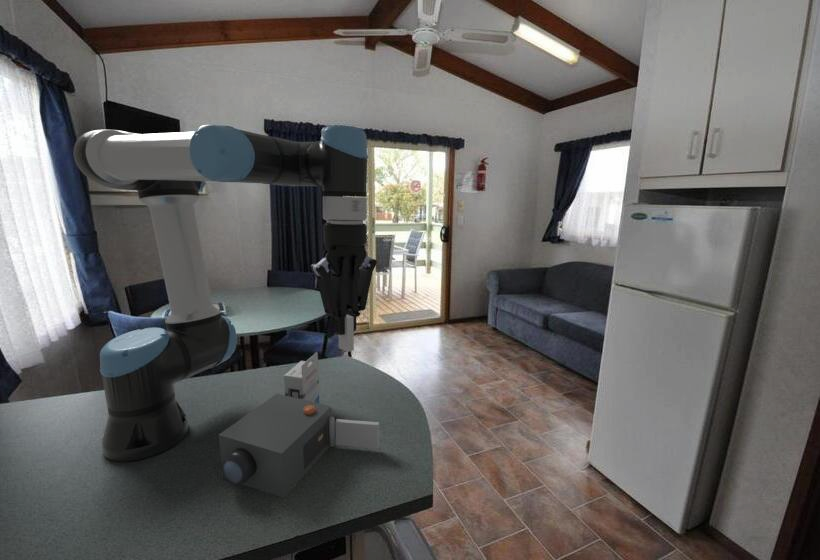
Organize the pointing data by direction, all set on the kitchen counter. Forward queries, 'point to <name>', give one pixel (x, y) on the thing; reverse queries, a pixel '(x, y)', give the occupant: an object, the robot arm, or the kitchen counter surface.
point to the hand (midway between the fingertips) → (346, 348)
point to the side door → (357, 433)
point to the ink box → (303, 380)
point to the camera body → (276, 444)
